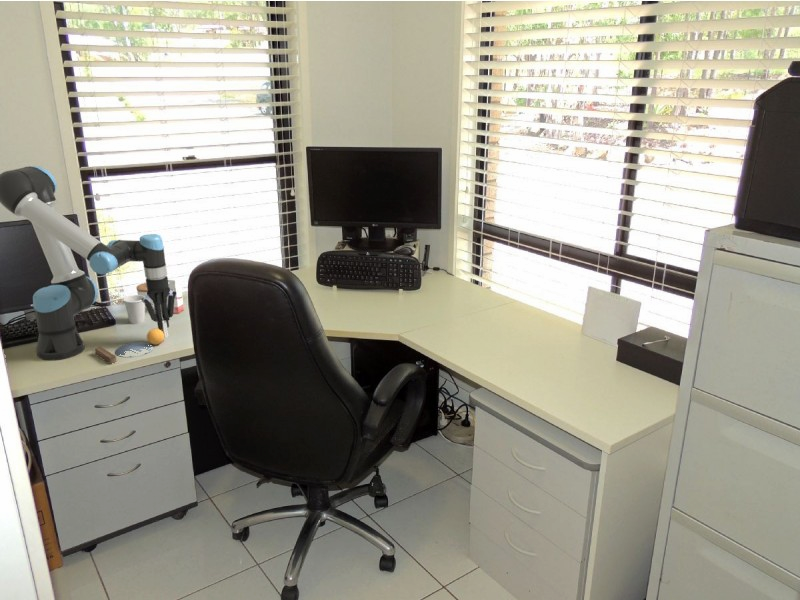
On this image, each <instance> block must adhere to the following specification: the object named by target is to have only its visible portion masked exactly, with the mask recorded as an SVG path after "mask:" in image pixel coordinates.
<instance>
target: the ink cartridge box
mask: <svg viewBox="0 0 800 600" xmlns="http://www.w3.org/2000/svg"><path fill="white" fill-rule="evenodd" d="M168 284H169V285H168V286H169V288H170V290H173V291H175V292H176V296H175V299H174V309H173V314H180V313H182V312H183V311H184V309H185V307H184V297H183V296H184V295H183V289H182V288H183V287H182V284H181V283H180V284H179V283H176V280H174V279H172V280H171V279H168ZM168 296H169V295H168ZM168 296H167V305H168ZM160 306H161V304H160ZM182 310H183V311H182ZM179 312H180V313H179ZM161 313H162V311H161Z"/></svg>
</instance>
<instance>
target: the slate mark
mask: <svg viewBox="0 0 800 600" xmlns="http://www.w3.org/2000/svg"><path fill="white" fill-rule="evenodd" d="M148 345H149V346H148ZM150 345H153V344H151V343H150V342H146V341H145V342H144V341H142V342H141V341H139V342H137V341H136V342H129V343H126V344H123V345H121V346H119V347H117V348H116V349H115V355H116V354H117V355H116V356H118V355H120V354H121V355H125V353H126V352H125V351H132V350H130V349H133V350H136V351H139V352H141V351H142V350H140V349H146V347H147V349H146V350H148V349H149V348H151V347H153V346H154V345H153V346H150ZM144 347H145V348H144ZM150 350H151V349H149V350H148V351H150ZM124 352H125V353H124ZM132 352H134V351H132ZM134 353H136V352H134ZM137 354H138V353H137Z"/></svg>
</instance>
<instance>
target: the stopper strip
mask: <svg viewBox="0 0 800 600" xmlns="http://www.w3.org/2000/svg"><path fill="white" fill-rule="evenodd" d="M94 351H95V356H97V355H98V356H97V357H99V358H100V357H101V359H102V360H103V359H104V361H105V362H106V361H107V363H108V362H109V363H110V365H113V364H112V363H114V364H116V363H115V362H117V355H116V354H115V355H114V353H112V352H110V351H109V350H107V349H105V348H103V347H102V346H98V347H94ZM109 363H108V364H109Z"/></svg>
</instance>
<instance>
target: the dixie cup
mask: <svg viewBox="0 0 800 600" xmlns="http://www.w3.org/2000/svg"><path fill="white" fill-rule="evenodd" d="M142 298H145V296H143V295H138V294H131V295H128V296H125V297H124V298H123V299H122V300H123V302H124V305H125V309H126V313H127V317H128V320H129V324H132V325H138V324H142V323H144V322H145V321H146V305H145V303H143V302H142V300H141V299H142Z"/></svg>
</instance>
